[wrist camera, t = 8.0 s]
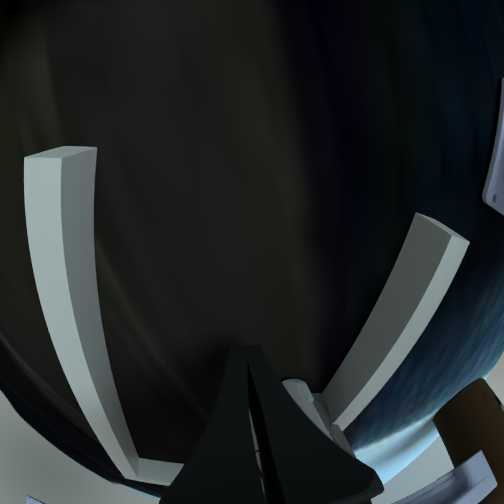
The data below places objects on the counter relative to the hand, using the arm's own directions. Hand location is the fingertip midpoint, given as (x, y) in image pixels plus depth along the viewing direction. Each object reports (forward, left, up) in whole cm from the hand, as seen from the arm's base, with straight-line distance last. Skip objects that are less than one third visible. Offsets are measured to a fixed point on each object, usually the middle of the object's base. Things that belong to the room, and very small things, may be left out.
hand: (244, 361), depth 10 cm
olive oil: (-34, +14, -2) cm, 36 cm away
